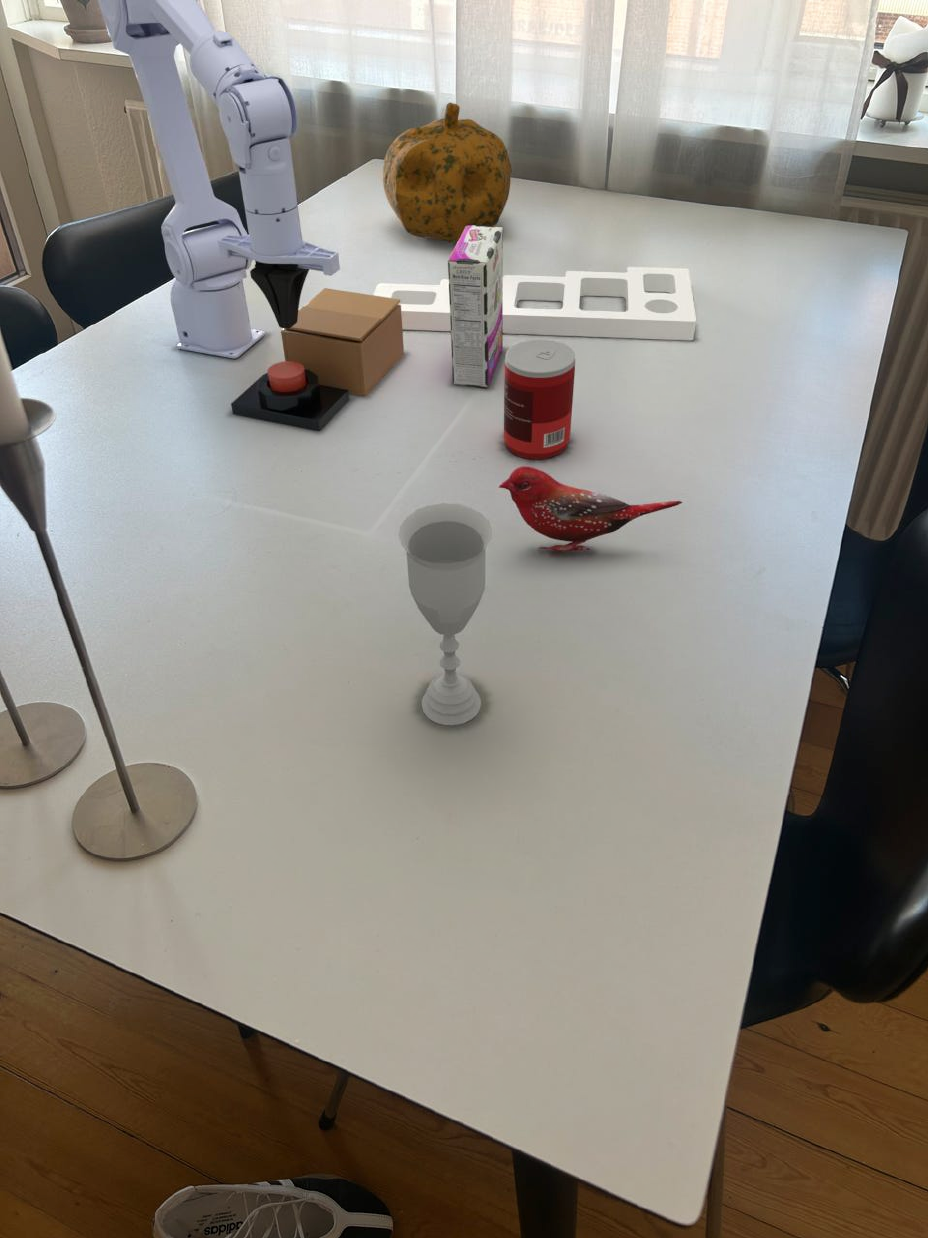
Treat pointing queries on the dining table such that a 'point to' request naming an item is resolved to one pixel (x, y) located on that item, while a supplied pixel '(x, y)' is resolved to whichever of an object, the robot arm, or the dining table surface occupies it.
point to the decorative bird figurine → (570, 509)
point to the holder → (569, 304)
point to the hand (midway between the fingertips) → (288, 324)
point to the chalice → (447, 594)
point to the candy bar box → (476, 305)
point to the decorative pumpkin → (447, 177)
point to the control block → (292, 403)
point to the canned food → (538, 398)
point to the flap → (353, 303)
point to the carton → (345, 347)
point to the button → (287, 376)
